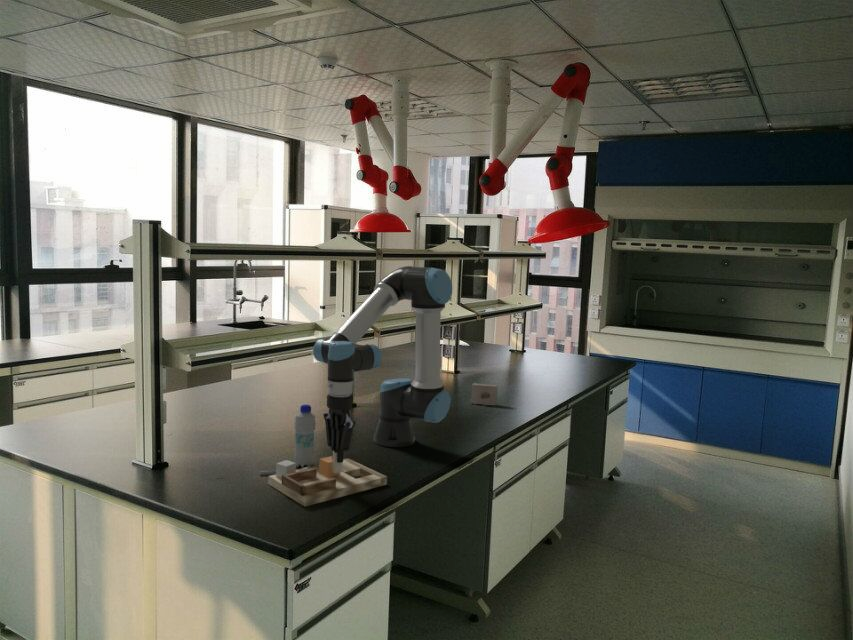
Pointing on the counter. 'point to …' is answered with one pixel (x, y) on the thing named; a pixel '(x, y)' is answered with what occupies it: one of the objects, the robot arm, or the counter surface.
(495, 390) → the pale printed box
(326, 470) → the cube
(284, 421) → the counter surface
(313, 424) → the bottle
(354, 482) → the board
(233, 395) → the counter surface
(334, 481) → the cubby
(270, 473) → the crook tool
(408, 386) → the robot arm
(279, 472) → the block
